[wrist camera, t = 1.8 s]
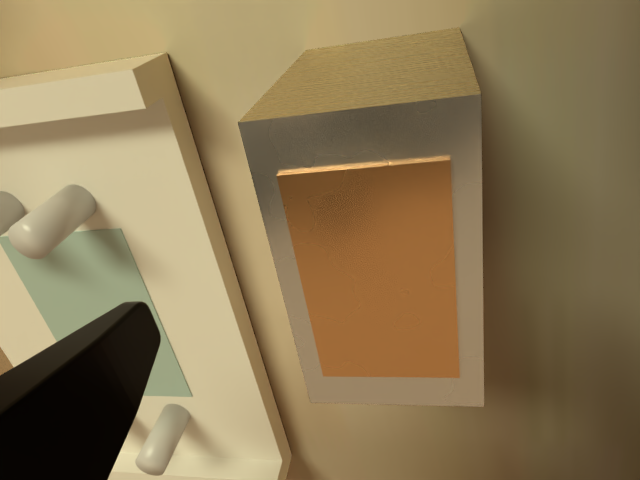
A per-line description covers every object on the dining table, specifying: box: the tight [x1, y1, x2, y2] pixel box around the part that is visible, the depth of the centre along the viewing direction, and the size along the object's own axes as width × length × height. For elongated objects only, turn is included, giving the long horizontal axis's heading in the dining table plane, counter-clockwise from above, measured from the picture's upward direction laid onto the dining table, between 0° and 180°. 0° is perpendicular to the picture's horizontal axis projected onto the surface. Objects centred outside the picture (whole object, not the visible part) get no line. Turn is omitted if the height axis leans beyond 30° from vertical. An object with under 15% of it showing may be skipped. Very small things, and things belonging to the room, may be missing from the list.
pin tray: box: [0, 52, 292, 480], centre depth 19 cm, size 11×18×4 cm, turn 10°
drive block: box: [238, 27, 484, 407], centre depth 12 cm, size 4×7×6 cm, turn 10°
